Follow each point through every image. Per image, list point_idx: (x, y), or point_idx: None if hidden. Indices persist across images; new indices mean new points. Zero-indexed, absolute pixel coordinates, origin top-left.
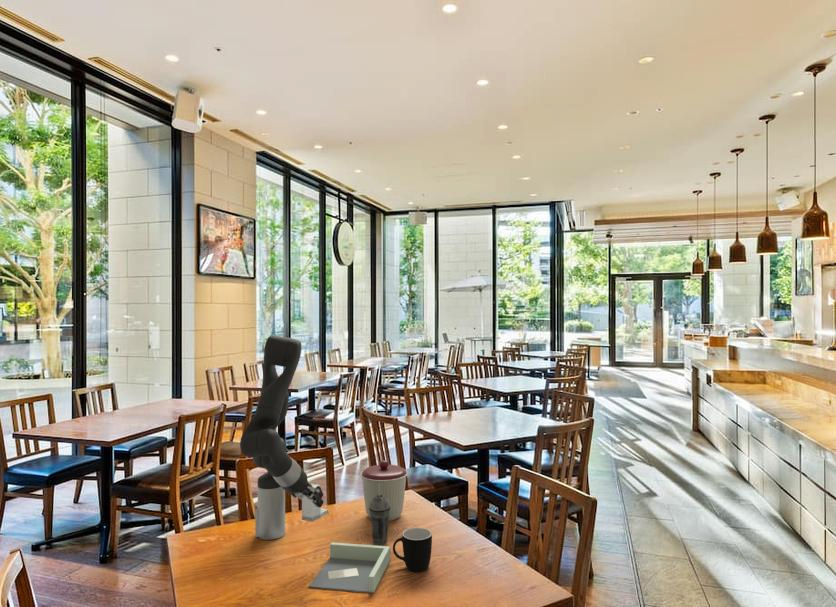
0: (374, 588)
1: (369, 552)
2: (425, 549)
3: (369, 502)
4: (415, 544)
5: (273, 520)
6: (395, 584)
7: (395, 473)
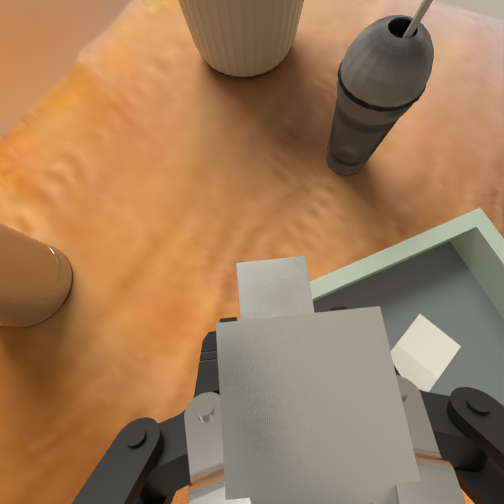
0: None
1: (424, 250)
2: None
3: (230, 35)
4: None
5: (10, 298)
6: None
7: None
